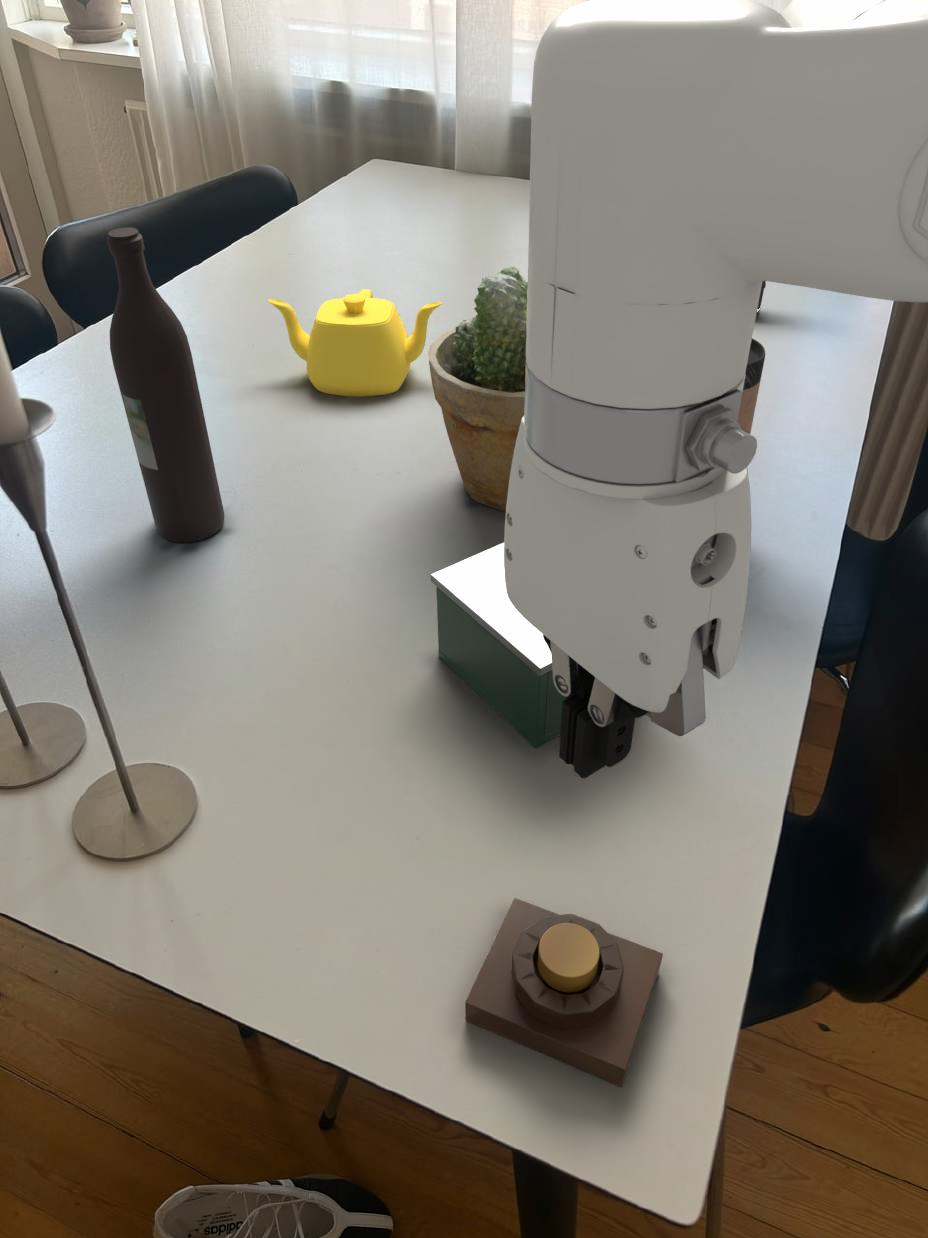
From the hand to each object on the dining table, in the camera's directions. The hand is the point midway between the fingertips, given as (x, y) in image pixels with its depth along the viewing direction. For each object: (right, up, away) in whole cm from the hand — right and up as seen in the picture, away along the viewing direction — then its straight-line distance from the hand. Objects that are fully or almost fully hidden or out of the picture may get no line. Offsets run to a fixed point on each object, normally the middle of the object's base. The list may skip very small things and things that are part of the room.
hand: (594, 755), depth 46 cm
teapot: (-20, +39, +82) cm, 93 cm away
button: (0, -14, +12) cm, 19 cm away
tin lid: (0, +8, +32) cm, 33 cm away
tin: (0, +2, +37) cm, 37 cm away
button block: (0, -17, +14) cm, 22 cm away
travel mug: (+17, +15, +53) cm, 58 cm away
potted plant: (-1, +21, +60) cm, 64 cm away
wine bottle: (-35, +16, +55) cm, 67 cm away
